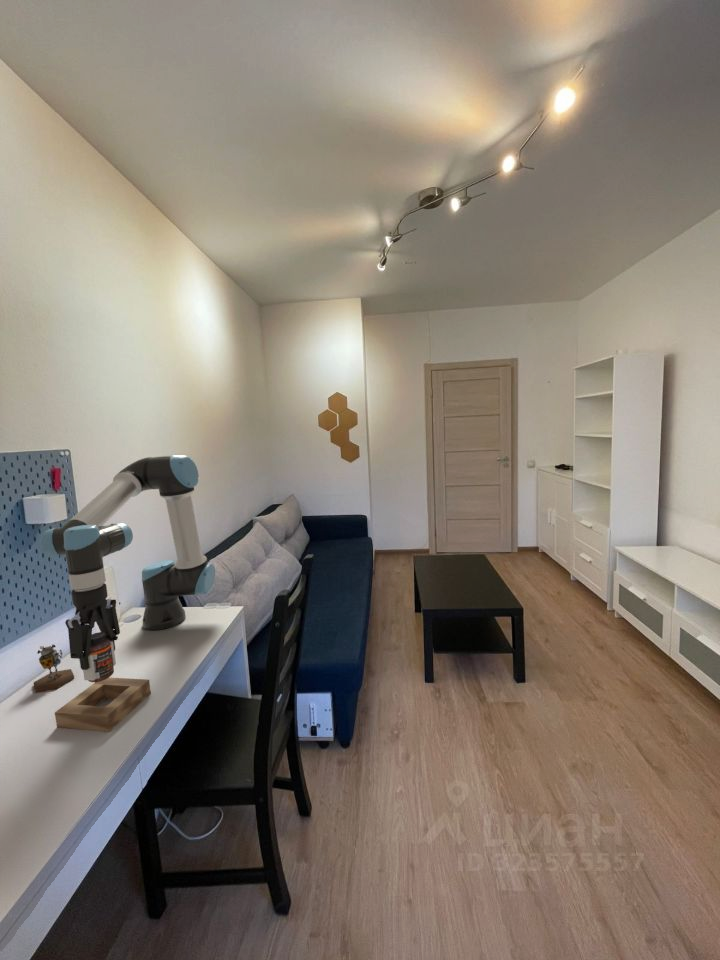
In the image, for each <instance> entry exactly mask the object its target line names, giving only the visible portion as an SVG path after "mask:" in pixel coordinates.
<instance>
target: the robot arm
mask: <svg viewBox="0 0 720 960" xmlns="http://www.w3.org/2000/svg"><path fill="white" fill-rule="evenodd" d="M198 484H199V470H198V467H197V465H196V463H195V461H194V460H193V459H192V458H191V457H189V456H188V455H178V454H175V455H174V454H173V455H163V456H162V455H161V456H154V457H153V456H149V457H144V458H140V459H138V460H136V461H134V462H132V463H130V464H129V465H127V466H125V467H124V468H123V469H121V470H120V471H119V472H118V473H116V474H115V476H114V477H113V480H112V482H111V483H110V484H109V485H108V486H106V487H105V488H104V489H103V490H102V491H101V492H100V493H98V494H97V495H96V496H95V497H94V498H93V499H92V500H90V502H88V503H87V504H86V505H85V506H84V507H82V509H81V510H79V511H78V512H77V513H76V514H75V515H73V516H72V518H70V519H69V520H68V521H67V522H66V523H65V524H64V525H62V526H61V527H54V528H49V529H47V530H45V531H44V532H43V533H42V534H41V537H40V539H39V546H40V548H41V551H43V552H44V554H46V555H49V556H59V557H60V556H61V557H63V556H65V558H66V563H67V572H68V578H69V585H70V590H72V591H71V592H70V593H71V600H72V605H74V607H75V612H74V616H72V618H71V619H66V620H65V622H64V623H65V626H66V628H67V631H68V643H69V653H70V654H69V655H70V659H74V660H75V659H78V661H79V667H80V669H81V670H82V672H83V680H84V681H88V680H92V681H94V680H95V679H96V675H95V668H94V661H93V655H92V654H90V645H91V636H92V634H93V628H94V627H95V623H96V624H97V626H98V629H99V632H104V633H105V637H106V638H105V639H107V640H109V641H110V644H111V651H112V658H113V663H114V664H113V667H115V666H116V665H117V662H116V654H115V651H116V643H115V641H117V640H118V639H119V638H118V636H119V635H120V633H121V630H120V624H119V620H118V614H117V600H116V599H108V589H107V588H108V587H107V584H106V583H105V582H106V581H107V580H106V574H105V573H106V572H105V567H104V557H106V556H109V555H112V554H114V553H116V552H118V551H121V550H123V549H124V548H127V547H128V546H129V545H130V544H132V542H133V539H134V535H133V530H132V528H131V527H130V526H128V524H126V523H123V522H115V523H110V524H108V525H105V524H106V523H107V522H108V521H109V520H110V519H111V518H113V516H114V515H115V514H116V513H117V512H118V511H119V510H121V509H122V507H124V506H125V504H126V503H127V502H128V501H129V500H130V499H131V498H132V497H133V498H134V497H137V496H138V495H140V494H141V493H142V492H145V491H149V490H158V492H159V496H160V497H161V498H163V499H164V500H165V504H166V508H167V509H166V510H167V513H168V520H169V524H170V528H171V529H170V530H171V533H172V534H171V535H172V538H173V543H174V547H175V548H174V549H175V554H176V559H177V560H176V561H174V560H171V559H168V560H162V561H159V562H156V563H153V564H150V565H148V566H146V567H145V568H143V569H142V571H141V582H142V590H143V595H144V602H145V607H144V612H143V618H142V628H143V629H144V630H147V631H160V630H165V629H169V628H171V627H174V626H177V625H178V624H181V623H183V621H185V619H186V616H187V615H186V610H185V609H184V607H183V604H182V603H181V600H180V599H179V597H184V596H185V597H186V596H196V597H197V596H202V595H203V596H204V595H207V594H208V593H210V592H211V590H212V589H213V587H214V584H215V581H216V567H215V565H214V564H213V563H211V562H208V558H207V556H206V555H205V554H202V549H201V543H200V539H199V533H198V526H197V522H196V516H195V509H194V505H193V500H192V494H193V493H194V491H195V487H196V486H197V485H198Z"/></svg>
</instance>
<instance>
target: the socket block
mask: <svg viewBox="0 0 720 960" xmlns="http://www.w3.org/2000/svg"><path fill="white" fill-rule="evenodd" d="M151 690H152V689H151V685H150V679H146V678H145V679H143V678H130V677H129V678H128V677H127V678H126V677H125V678H124V677H111V676H110V677H109V678H107V679H105V680H103V681H100V682H93V684H91V685H89V687H87V688H86V689H84V690H83V691H82V692H80V693H78V694H77V695H76V696H75V697H73V698H72V699H71V700H70V701H68V702H66V704H64V705H63V706H62V707H60V708H59V709H57V710H56V711H55V712H54V717H55V723H56V728H58V729H59V728H61V729H69V730H72V729H73V730H85V731H97V732H105V733H106V732H107V733H108V732H110V731H111V730H113V729H114V728H115V727H116V726H117V725H118V724H119V723H120V722H121V721H122V720H123V719H124V718H126V717H127V716H128V715H129V714H130V713H131V712H132V711H133V710H134V709H135V708H136V707H137V706H139V705H140V704H141V703H142V702H143V701H144V700H145V699H146V698H147V697H148V696H149V695H151V694H152V692H151ZM105 699H112V701H111V702H110V703H107V705H106V706H98V705H99V704H100V703H101V702H103V701H104V700H105ZM113 699H114V700H113Z"/></svg>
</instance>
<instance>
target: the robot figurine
mask: <svg viewBox="0 0 720 960" xmlns="http://www.w3.org/2000/svg"><path fill="white" fill-rule="evenodd" d="M54 648H56V645H55V644H51V645H49V646H44V645H40V646H39V650H37V653H36V654H37V655H39V654H40V655H41V656H39V658H38V661H39V663H40V666H41V667H42V668H43V669H44V670H45V669H46V670H47V669H48V670H49V673H47V674H46V675H44V676H43V677H41V678H39V679H37V680H35V681H33V687H34V692H35V694H37V693H38V694H39V693H43V692H49V691H50V692H51V691H54V690H58V689H59V688H61V687H63V686H65V685H66V684H68V683H70V682H71V681H73V680H74V679H75V675H74V673H73V671H72V669H71V668H70V669H63V670H58V668H57V667H58V665H60V664H61V662H62V661H61V659H62V658H63V650H62V649H59V652H58V650H56V649H54ZM53 667H54V669H55V671H52V668H53Z"/></svg>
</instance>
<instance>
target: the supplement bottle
mask: <svg viewBox="0 0 720 960" xmlns="http://www.w3.org/2000/svg"><path fill="white" fill-rule="evenodd" d="M105 638H106V637H105V633H104V632H101V631H98V632H94V633H92V636H91V645H90V654H92V655H93V661H94V668H95V675H96V679H95V680H94V681H92V680H87V681H88V682H89V683H95V682H100V681H103V680H105V679H107V678H109V677H110V678H111V677H112V676H113V675H114V673H115V670H114V667H115V666H113V664H114V663H113V658H112V651H111V644H110V641H109V640H107V639H105Z"/></svg>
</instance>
